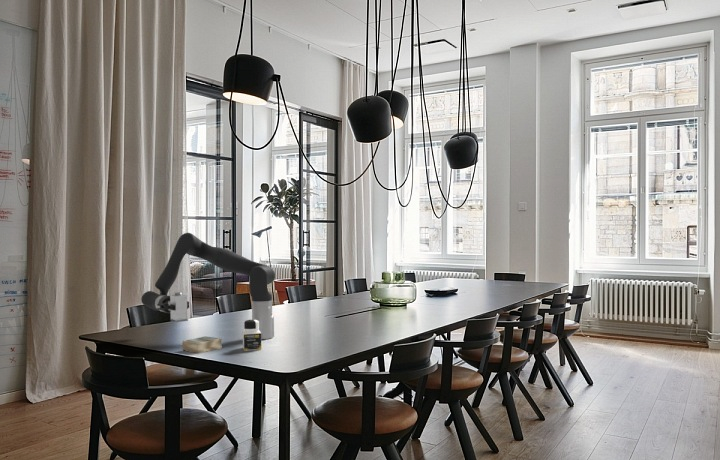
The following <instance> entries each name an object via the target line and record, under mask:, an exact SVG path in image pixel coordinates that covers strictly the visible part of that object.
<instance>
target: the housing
mask: <svg viewBox="0 0 720 460" xmlns="http://www.w3.org/2000/svg"><path fill="white" fill-rule="evenodd" d="M169 296H170V304H171V305H175V306H176V310H171V313H170V321H171V322H175V323H180V322H188V321H189V319H188V309H187V301H188V295H187V294H183V292H181V291H179V292H174V294H169Z"/></svg>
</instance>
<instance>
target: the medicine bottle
mask: <svg viewBox="0 0 720 460" xmlns="http://www.w3.org/2000/svg"><path fill="white" fill-rule="evenodd" d="M243 326H244V327H243V328H244V330H243V331H242V349H243V351H244V352H248V351H261V350H262V339H261V332H260V330H259V321H258V320H252V319H247V320H244V325H243Z"/></svg>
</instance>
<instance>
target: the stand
mask: <svg viewBox="0 0 720 460" xmlns="http://www.w3.org/2000/svg"><path fill="white" fill-rule="evenodd" d="M222 346H223V345H222V338H220V337H214V336H213V337H211V336H201V337H195V338H191V339H185V340H183V341H182V351H183V350H186V351H185V352H187V351H191V352H190V353H193V352H196V353H195V354H201V352H202V353H206V351H207V352H211V351H216V350H220V349H222Z"/></svg>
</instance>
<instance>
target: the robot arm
mask: <svg viewBox="0 0 720 460" xmlns="http://www.w3.org/2000/svg"><path fill="white" fill-rule="evenodd" d="M186 254H187V255H188V256H192V257H195V258H197V259H198V258H199V259H201V260H202V259H203V260H204V261H206V262H208V263H209V264H211V265H213V266H215V267H217V268H219V269H221V270H224V271H227V272H230V273H235V274H241V275H245V276H248V285H249V286H248V287H249V295H250V298H251V320H258V321H259V330H260V332H261V340H269V339H272V338H274V337H275V318H274V317H275V316H273V295H272V293H271V292H269V290H268V289H269V287H268V285H270V284H271V283H273V282H274V281H275V280H276V279H275V278H276V272H275V270H274V269H273V268H272V267H271V266H269V265H267V264H263V263H260V262H257V261H253V260H251V259H249V258H247V257H244V256H242V255H240V254H238V253H236V252H234V251H231V250H229V249H227V248H224V247H218V246H212V245H209V244H208V243H206V242H205V241H203V240H201V239H200V238H198V237H197V236H196V235H195V234H193V233H191V232H186V233H183V234H182V235H180V236H179V237H178V239H177V242H176V243H175V246H174V248H173V250H172V253H171V255H170V258H169V260H168V262H167V263H166V266H165V267H164V269H163V270H162V272H161V273H160V275H159V277H158V278H157V280H156V281H155V283H154V286H155V288H156V289H158V290H159V293H156V292H155V291H153V290H148V291H146V292H144V293H143V294H142V296H141V299H140V301H141V303H142V305H144V306H146V307H148V308H149V309H152V310H153V311H156V312H158V311H160V312H163V313H166V314H171V310H176V306H175V305H171V304H170V295H169V294H168V293H169V291H170V289H171V287H172V286H173V285H174V284H175V282H176V280H177V277H178V273H179V271H180V266H181V263H182V261H183V259H184V258H185V256H186ZM188 309H190V302H189V301H188V300H187V310H188Z"/></svg>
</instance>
